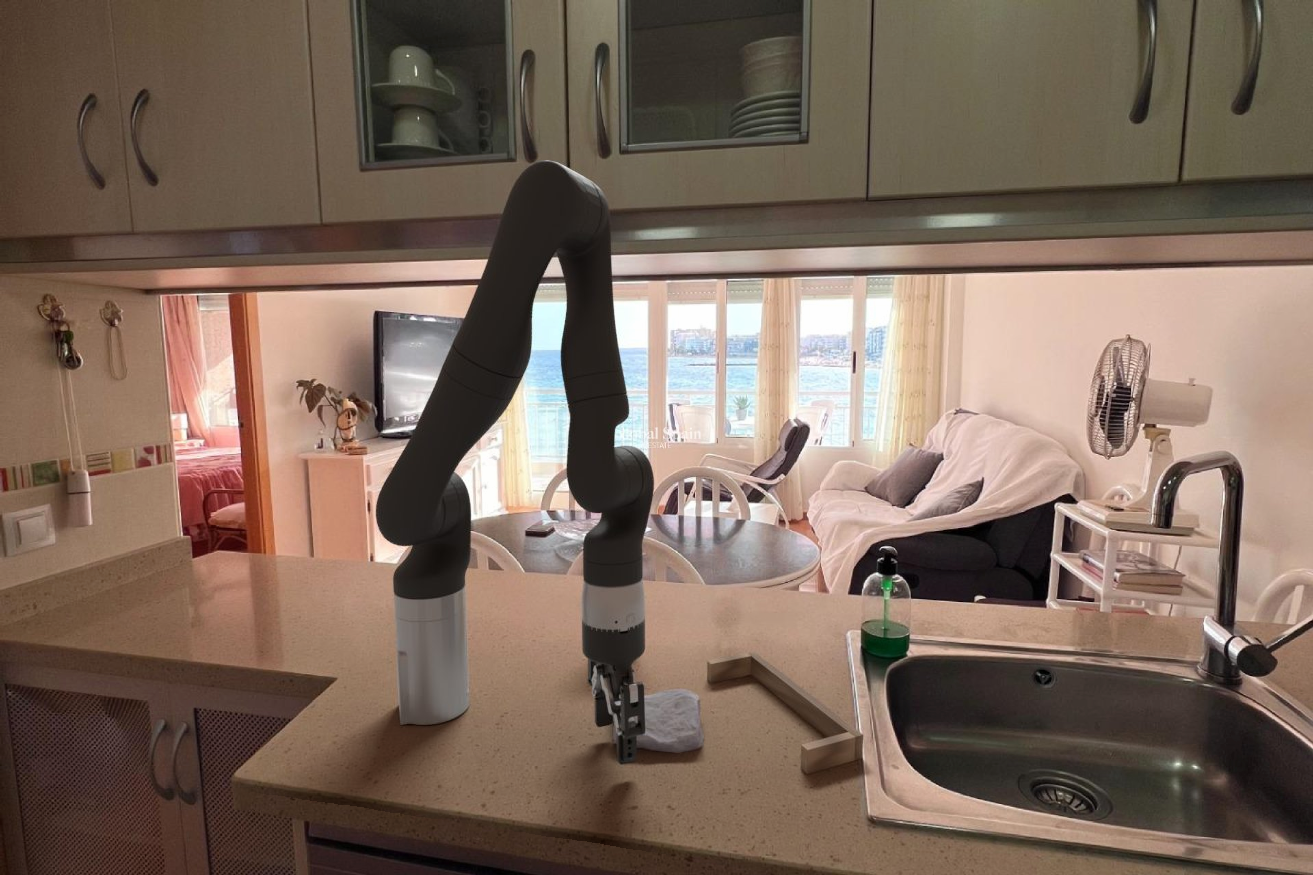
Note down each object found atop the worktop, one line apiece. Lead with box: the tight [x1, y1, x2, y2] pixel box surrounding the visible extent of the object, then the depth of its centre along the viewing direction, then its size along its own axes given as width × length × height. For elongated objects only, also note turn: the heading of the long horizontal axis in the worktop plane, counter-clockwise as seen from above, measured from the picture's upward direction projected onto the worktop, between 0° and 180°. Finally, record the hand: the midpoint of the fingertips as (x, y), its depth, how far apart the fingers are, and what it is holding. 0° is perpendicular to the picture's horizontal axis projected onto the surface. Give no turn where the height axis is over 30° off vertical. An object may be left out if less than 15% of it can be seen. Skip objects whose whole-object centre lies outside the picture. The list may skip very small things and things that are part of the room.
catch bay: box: [706, 651, 864, 775], centre depth 91 cm, size 8×25×3 cm, turn 23°
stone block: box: [612, 688, 705, 754], centre depth 87 cm, size 12×5×10 cm
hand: (614, 742), depth 82 cm, fingers open, 8 cm apart
